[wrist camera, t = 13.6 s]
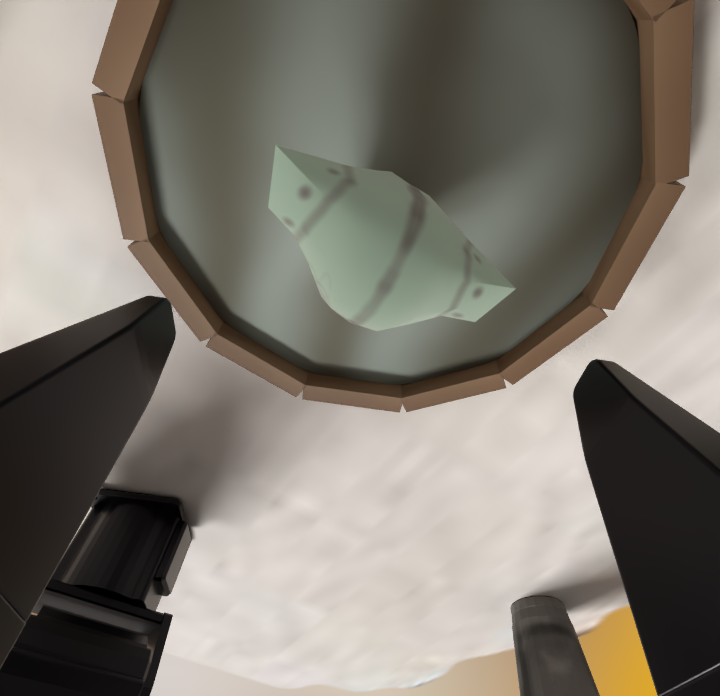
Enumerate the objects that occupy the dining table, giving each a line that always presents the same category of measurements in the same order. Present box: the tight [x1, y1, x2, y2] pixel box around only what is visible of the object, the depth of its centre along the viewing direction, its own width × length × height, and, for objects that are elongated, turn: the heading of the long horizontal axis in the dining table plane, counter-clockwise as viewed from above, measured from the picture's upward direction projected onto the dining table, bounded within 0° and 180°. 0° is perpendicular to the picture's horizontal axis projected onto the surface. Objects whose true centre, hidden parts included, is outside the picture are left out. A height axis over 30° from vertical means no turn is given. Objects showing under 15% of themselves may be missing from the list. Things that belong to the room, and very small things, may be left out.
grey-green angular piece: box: [268, 145, 516, 331], centre depth 14 cm, size 8×4×7 cm, turn 60°
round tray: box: [92, 0, 694, 412], centre depth 16 cm, size 20×20×2 cm
